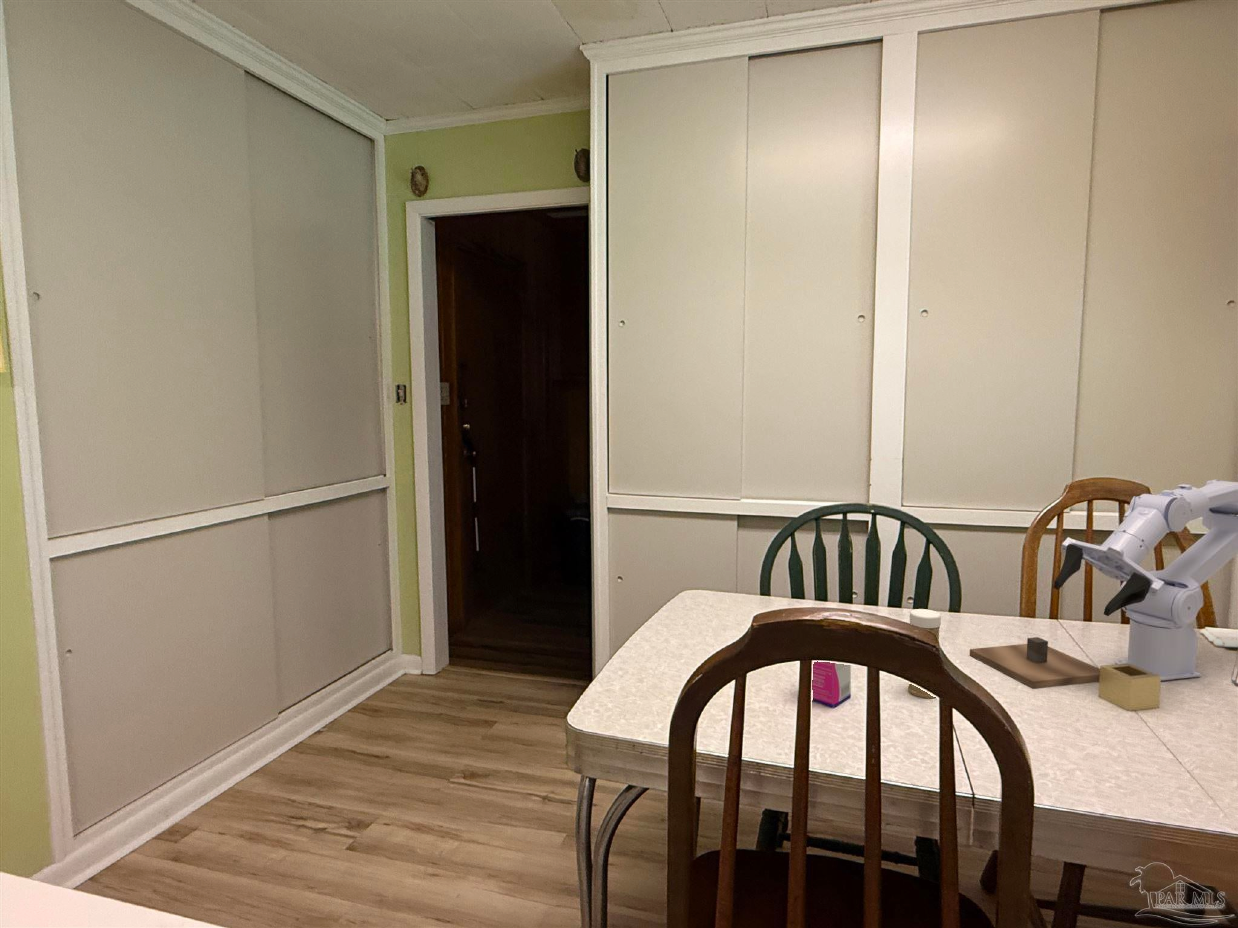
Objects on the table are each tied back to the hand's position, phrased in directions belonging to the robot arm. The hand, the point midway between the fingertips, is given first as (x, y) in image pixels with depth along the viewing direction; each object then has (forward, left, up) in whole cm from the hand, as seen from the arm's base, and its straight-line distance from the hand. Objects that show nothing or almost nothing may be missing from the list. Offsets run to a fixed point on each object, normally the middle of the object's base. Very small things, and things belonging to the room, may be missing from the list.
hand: (1080, 598), depth 111 cm
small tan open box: (-5, +5, -16) cm, 17 cm away
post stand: (-2, -10, -16) cm, 19 cm away
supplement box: (+40, -7, -16) cm, 44 cm away
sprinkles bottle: (+24, -5, -16) cm, 29 cm away
